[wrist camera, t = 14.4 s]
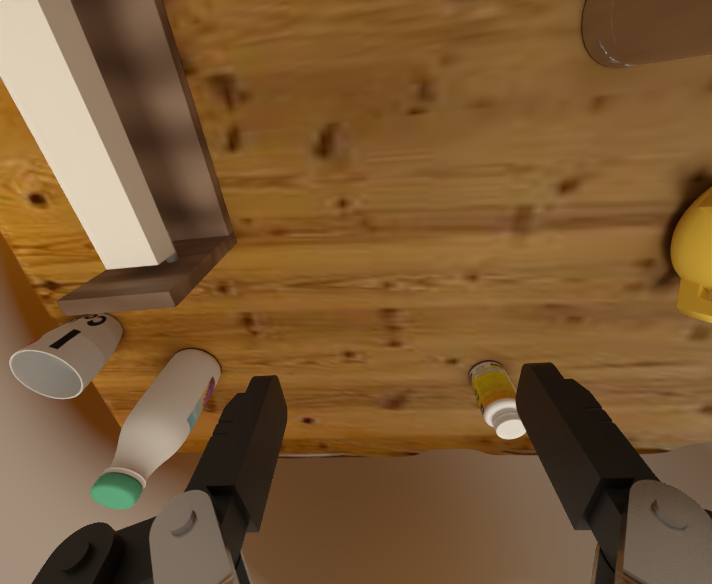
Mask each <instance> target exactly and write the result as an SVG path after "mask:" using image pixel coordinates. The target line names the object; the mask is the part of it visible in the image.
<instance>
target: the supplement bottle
mask: <svg viewBox="0 0 712 584" xmlns="http://www.w3.org/2000/svg"><path fill="white" fill-rule="evenodd" d="M469 380H470V383H471V386H472V388H473V391H474V394H475V396H476V399H477V401H478V404H479V407H480V409H481V412H482V414H483V417H484V419H485V421H486V422H487V423H488V424H489V425H490V426H492V427H494V429H495V431H496V433H497V435H498V436H499V437H501V438H503V439H514V438H518V437H520V436H522V435H523V434H524V433H525V432H526V430H525V428H524V426H523V424H522V422H521V420H520V418H519V415H518V412H517V409H516V402H515V398H516V392H517V391H516V389H515V387H514V386H513V384H512V382H511V380H510V378H509V376H508V375H507V373H506V371H505V369H504V368H503V367H502V366H501V365H500V364H498V363H495V362H484V363H480V364H478V365H477V366H475V367H474V368H473V369H472V370H471V372H470V374H469Z"/></svg>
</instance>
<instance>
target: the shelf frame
mask: <svg viewBox="0 0 712 584" xmlns="http://www.w3.org/2000/svg"><path fill="white" fill-rule="evenodd" d="M70 1H71V3H72V6H73V8H74V11H75V13H76V15H77V18H78V20H79V23H80V25H81V27H82V30H83V32H84V35H85V37H86V39H87V42H88V44H89V47H90V49H91V51H92V54H93V56H94V58H95V61H96V63H97V66H98V68H99V70H100V73H101V75H102V78H103V80H104V82H105V85H106V87H107V90H108V92H109V94H110V97H111V99H112V102H113V104H114V106H115V109H116V111H117V114H118V116H119V118H120V121H121V123H122V125H123V128H124V130H125V133H126V135H127V137H128V140H129V142H130V145H131V147H132V149H133V152H134V154H135V157H136V159H137V161H138V164H139V166H140V169H141V171H142V173H143V176H144V178H145V180H146V183H147V185H148V188H149V190H150V192H151V195H152V197H153V200H154V202H155V204H156V207H157V209H158V212H159V214H160V216H161V219H162V221H163V224H164V226H165V228H166V231H167V233H168V235H169V238H170V240H171V243H172V245H173V247H174V250H175V253H173V254H172V255H171V256H169V257H168V258H167V259H165V260H164V261H163V262H161V263H160V264H159V265H151V266H140V267H130V268H119V269H108V270H106V271H104V272H102V273H101V274H99V275H98V276H96V277H94V278H93V279H91V280H90V281H88V282H86V283H85V284H83V285H82V286H80V287H78V288H77V289H75V290H74V291H72V292H70V293H69V294H67V295H66V296H64V297H62V298H61V299H59V300H58V301H57V303H58V304H59V306H60V307H61V309H62V310H63V312H64V313H65V315H66V316H71V315H83V314H95V313H108V312H120V311H132V310H145V309H157V308H169V307H176V306H177V305H178V304H179V303H180V302H181V301H182V300H183V299H184V298H185V297H186V296H187V295H188V294H189V293H190V291H191V290H192V289H193V288H194V287H195V286H196V285H197V284H198V283H199V282H200V281H201V280H202V279H203V278H204V277H205V276H206V275H207V274H208V273H209V271H210V270H211V269H212V268H213V267H214V266H215V265H216V264H217V263H218V262H219V261H220V260H221V259H222V258H223V257H224V256H225V255H226V254H227V253H228V252H229V250H230V249H231V248H232V247H233V246H234V245H235V244H236V243H237V242H236V238H235V235H234V232H233V229H232V225H231V222H230V219H229V216H228V212H227V209H226V206H225V203H224V200H223V196H222V193H221V190H220V187H219V183H218V180H217V177H216V174H215V170H214V167H213V164H212V161H211V157H210V154H209V151H208V148H207V144H206V141H205V138H204V135H203V132H202V128H201V125H200V122H199V119H198V115H197V112H196V109H195V106H194V102H193V99H192V96H191V93H190V89H189V86H188V83H187V80H186V76H185V73H184V70H183V67H182V63H181V60H180V57H179V54H178V51H177V47H176V44H175V41H174V38H173V34H172V31H171V28H170V25H169V21H168V18H167V15H166V12H165V8H164V5H163V2H162V0H70Z"/></svg>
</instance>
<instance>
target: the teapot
mask: <svg viewBox="0 0 712 584" xmlns="http://www.w3.org/2000/svg"><path fill="white" fill-rule="evenodd" d="M671 261H672V265H673V267H674V270H675V271H676V272H677V274H678V275H679V276H680V278H681V281H680V287H679V293H678V299H677V305H676V308H677V309H678V310H679V311H681V312H682V313H683V314H684V315H685V316H688V317H691V318H695V319H699V320H703V321H706V322H710V323H712V301H710V296H711V293H712V187H710V188H709V189H707V190H706V191H705V192H704V193H702V194H701V195H700V196H699V197H698V198H697V199H696V200H695V201H694V202H693V203H692V204H691V205H690V206H689V207H688V208H687V210H686V211H685V212H684V214H683V215H682V216H681V218H680V220H679V221H678V223H677V225H676V228H675V230H674V233H673V236H672V241H671Z"/></svg>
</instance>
